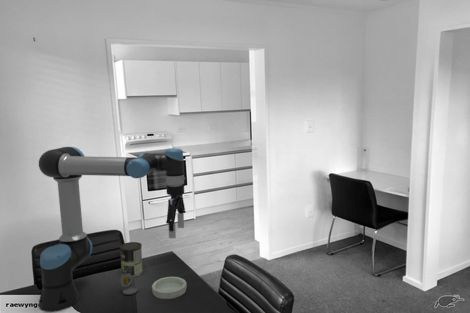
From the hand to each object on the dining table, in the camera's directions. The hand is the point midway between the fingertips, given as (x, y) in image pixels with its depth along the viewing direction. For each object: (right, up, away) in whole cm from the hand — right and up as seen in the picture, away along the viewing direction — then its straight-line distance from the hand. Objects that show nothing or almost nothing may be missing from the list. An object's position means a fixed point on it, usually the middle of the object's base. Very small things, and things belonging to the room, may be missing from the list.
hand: (176, 232), depth 160 cm
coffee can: (-26, -25, +24) cm, 43 cm away
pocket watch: (-22, -28, +5) cm, 36 cm away
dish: (-4, -27, +5) cm, 28 cm away
